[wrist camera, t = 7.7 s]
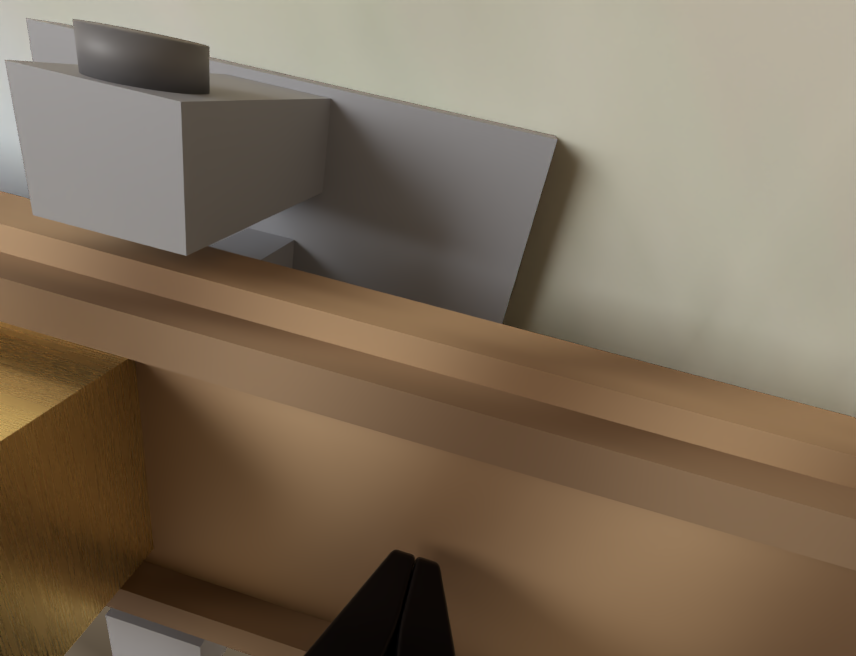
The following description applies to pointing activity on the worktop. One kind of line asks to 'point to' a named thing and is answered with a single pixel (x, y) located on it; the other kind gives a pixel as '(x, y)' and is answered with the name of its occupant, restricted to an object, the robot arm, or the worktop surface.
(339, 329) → the balance beam
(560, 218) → the worktop surface
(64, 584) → the block
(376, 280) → the pivot stand
